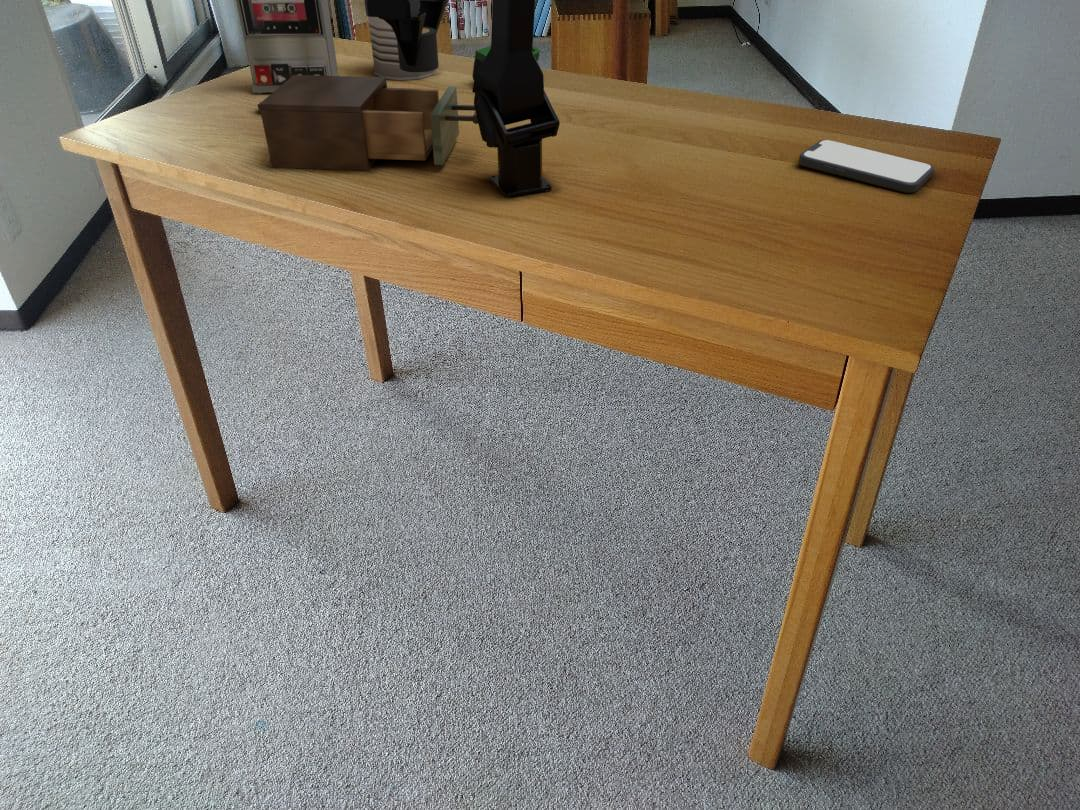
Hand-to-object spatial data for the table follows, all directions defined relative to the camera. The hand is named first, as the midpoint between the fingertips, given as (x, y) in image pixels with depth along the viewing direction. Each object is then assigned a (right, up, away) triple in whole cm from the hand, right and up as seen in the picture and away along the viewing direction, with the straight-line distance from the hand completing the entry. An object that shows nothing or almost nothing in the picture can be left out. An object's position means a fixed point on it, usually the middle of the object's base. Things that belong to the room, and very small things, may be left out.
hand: (418, 59), depth 117 cm
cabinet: (-12, -12, +2) cm, 18 cm away
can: (-7, +12, +34) cm, 37 cm away
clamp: (+11, +8, +29) cm, 32 cm away
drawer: (+1, -13, 0) cm, 13 cm away
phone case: (+61, -17, -5) cm, 64 cm away
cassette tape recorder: (-25, +6, +26) cm, 36 cm away
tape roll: (0, -1, +1) cm, 1 cm away
